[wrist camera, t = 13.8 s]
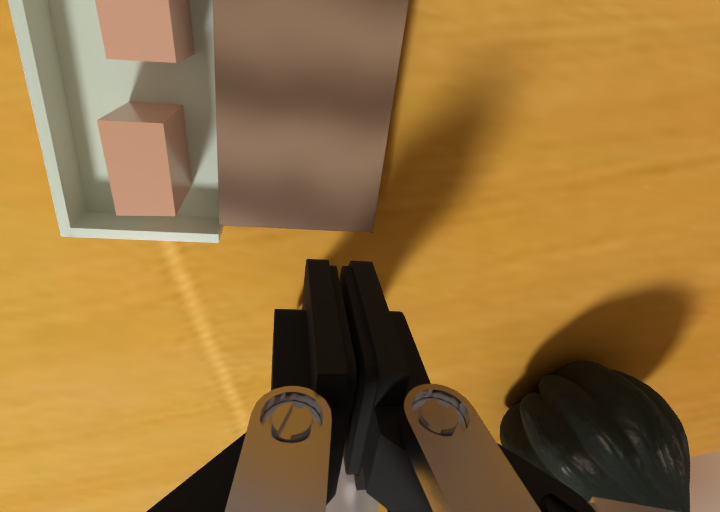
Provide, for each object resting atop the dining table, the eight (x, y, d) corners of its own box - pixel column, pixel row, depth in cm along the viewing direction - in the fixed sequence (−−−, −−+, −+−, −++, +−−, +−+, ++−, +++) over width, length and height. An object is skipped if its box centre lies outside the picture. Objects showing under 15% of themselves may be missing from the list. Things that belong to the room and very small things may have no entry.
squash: (478, 423, 36) (594, 614, 32) (637, 331, 35) (785, 518, 30) (478, 404, 50) (560, 536, 45) (593, 337, 48) (691, 467, 43)
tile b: (183, 104, 26) (128, 101, 25) (163, 123, 21) (96, 120, 21) (192, 184, 28) (142, 183, 27) (175, 216, 24) (116, 215, 23)
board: (215, -131, 21) (207, -147, 19) (411, -91, 23) (424, -102, 21) (224, 209, 29) (219, 225, 27) (366, 217, 31) (372, 232, 29)
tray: (10, -144, 20) (-31, -168, 17) (216, -105, 21) (207, -121, 19) (81, 216, 28) (61, 236, 26) (224, 223, 30) (218, 242, 27)
